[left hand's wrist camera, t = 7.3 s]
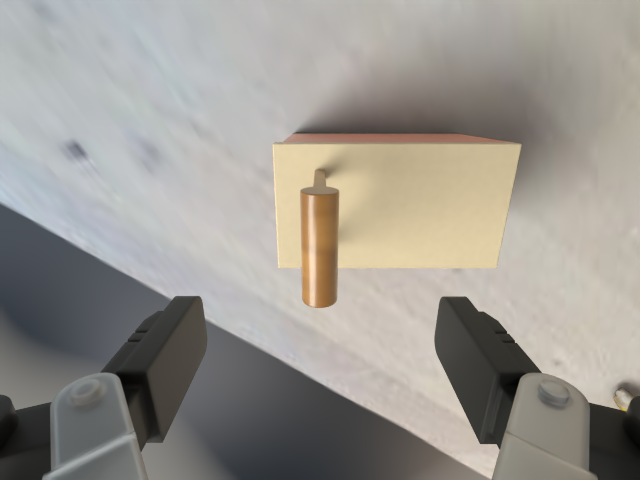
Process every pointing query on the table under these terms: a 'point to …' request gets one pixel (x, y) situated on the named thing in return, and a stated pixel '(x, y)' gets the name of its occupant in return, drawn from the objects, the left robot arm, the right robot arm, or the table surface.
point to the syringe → (623, 398)
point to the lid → (389, 207)
